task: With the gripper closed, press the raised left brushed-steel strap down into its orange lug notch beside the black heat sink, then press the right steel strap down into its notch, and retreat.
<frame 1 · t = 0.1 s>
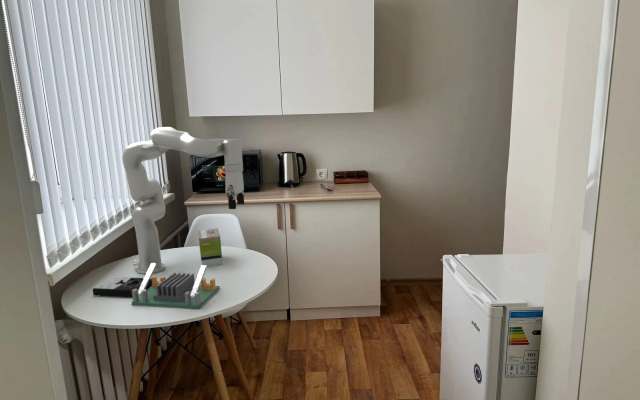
hand: (236, 206, 191), 31 cm above the table, fingers open, 9 cm apart
strap left: (146, 279, 173), point 8 cm above the table, hinge at 35.0°
tea box: (211, 261, 215), on the table
multimeter: (124, 291, 182), on the table
strap right: (198, 281, 169), point 8 cm above the table, hinge at 35.0°
cooler board: (177, 296, 175), on the table
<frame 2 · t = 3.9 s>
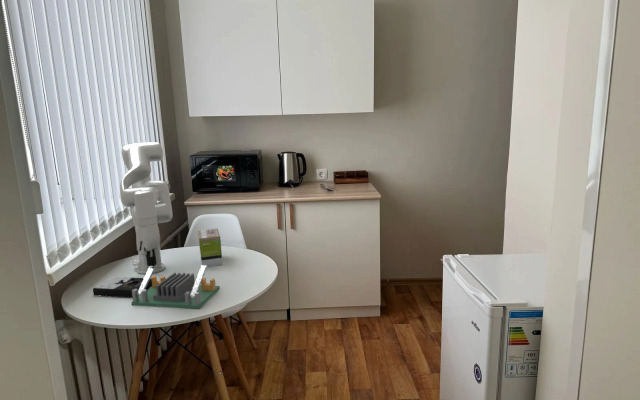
hand: (152, 265, 176), 12 cm above the table, fingers closed
strap left: (146, 279, 173), point 8 cm above the table, hinge at 35.0°, touching gripper
everything else where it was.
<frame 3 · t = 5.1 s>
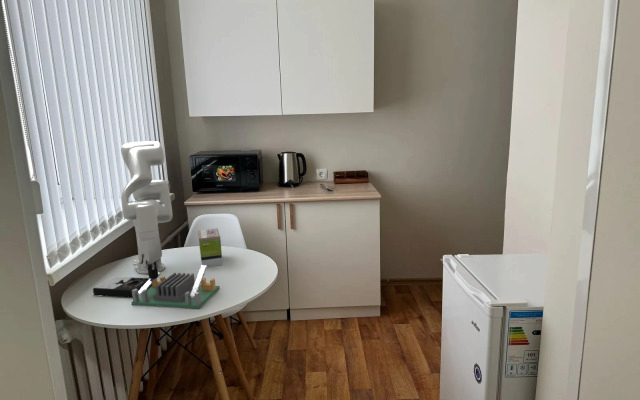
hand: (153, 277, 177), 7 cm above the table, fingers closed
strap left: (148, 283, 174), point 5 cm above the table, hinge at 12.7°, touching gripper
everything else where it was.
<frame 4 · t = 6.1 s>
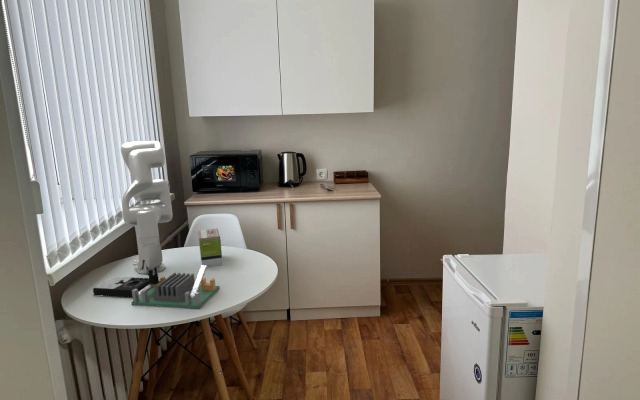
hand: (154, 283, 177), 4 cm above the table, fingers closed
strap left: (149, 287, 175), point 4 cm above the table, hinge at 0.2°, touching gripper
everything else where it was.
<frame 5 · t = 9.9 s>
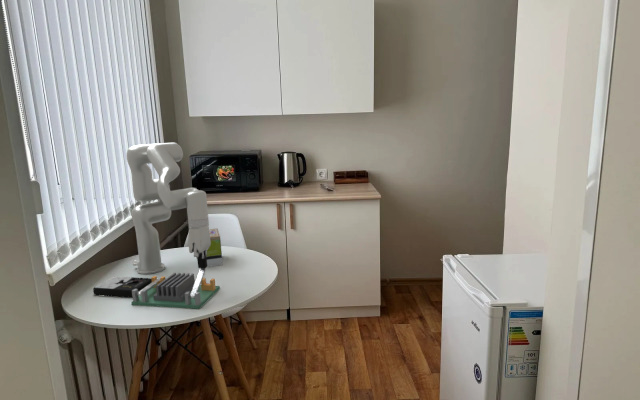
hand: (202, 267, 172), 12 cm above the table, fingers closed
strap left: (149, 287, 175), point 4 cm above the table, hinge at 0.2°
strap right: (198, 281, 169), point 8 cm above the table, hinge at 35.0°, touching gripper
everything else where it was.
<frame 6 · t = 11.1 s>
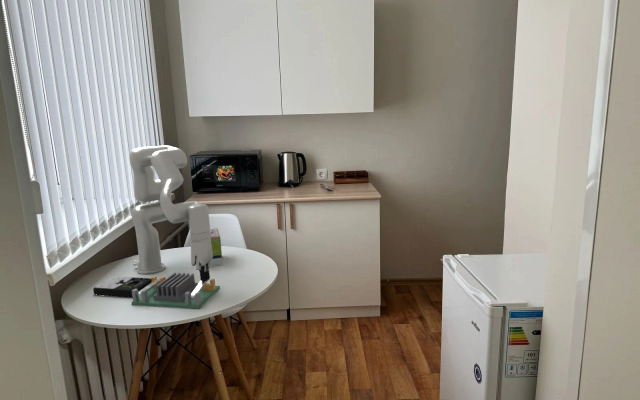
hand: (205, 280, 173), 7 cm above the table, fingers closed
strap right: (200, 286, 170), point 5 cm above the table, hinge at 12.3°, touching gripper
everything else where it was.
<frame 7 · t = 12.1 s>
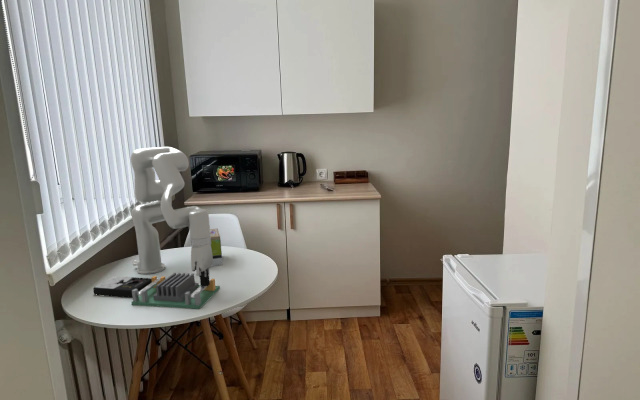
hand: (205, 285, 173), 5 cm above the table, fingers closed
strap right: (200, 289, 170), point 4 cm above the table, hinge at 1.1°, touching gripper
everything else where it was.
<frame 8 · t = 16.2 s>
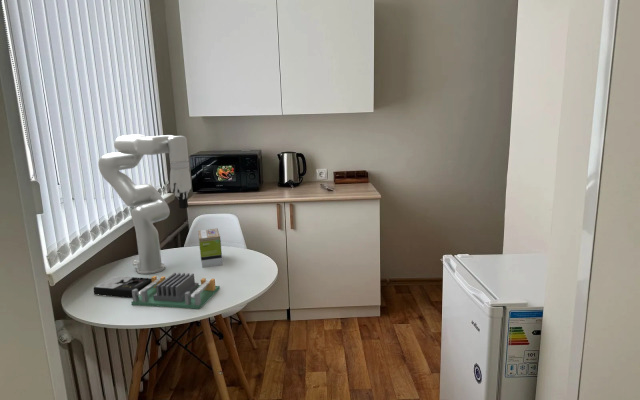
hand: (183, 207, 187), 32 cm above the table, fingers closed
strap right: (200, 289, 170), point 4 cm above the table, hinge at 1.0°
everything else where it was.
at the end: strap left at +0° (first picture: +35°); strap right at +1° (first picture: +35°) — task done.
